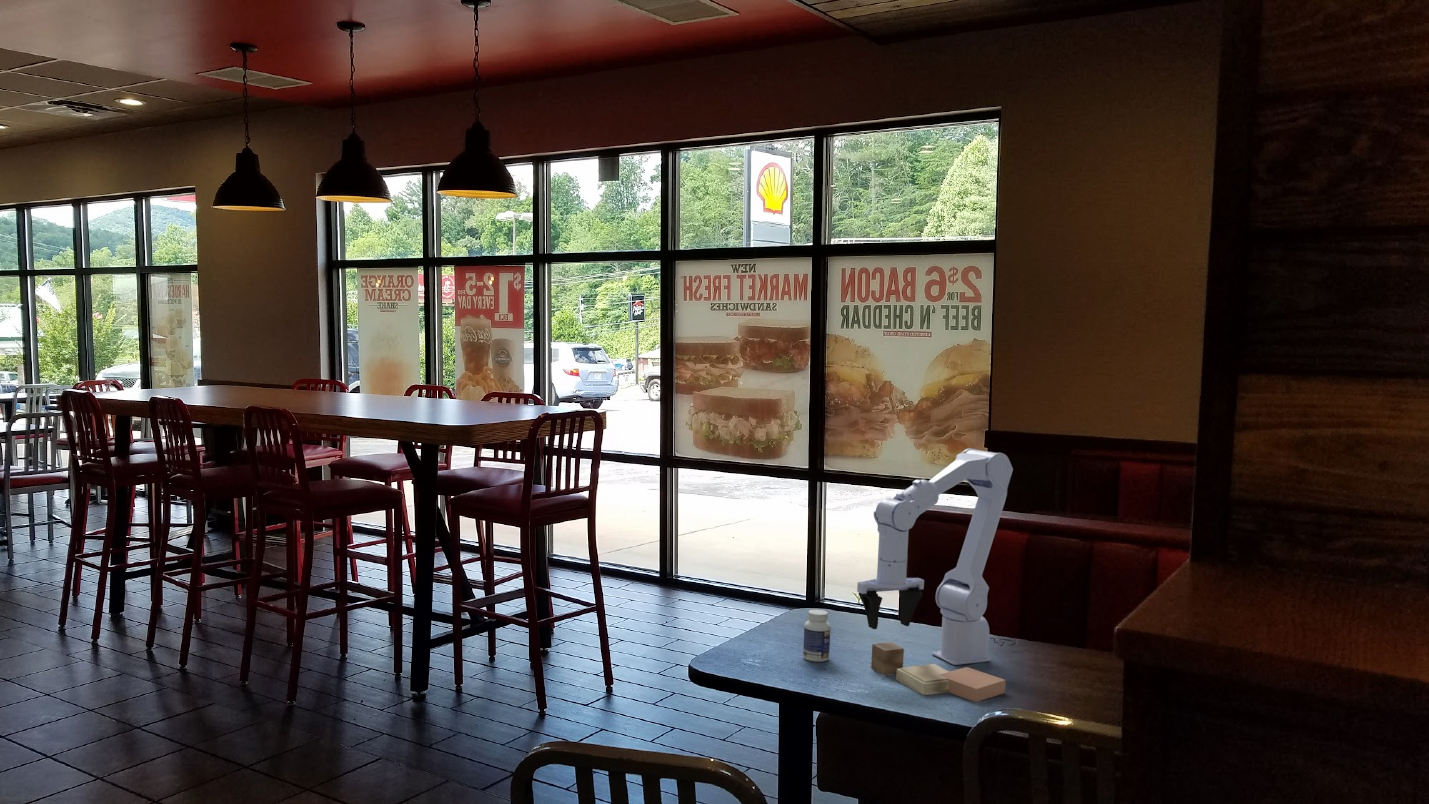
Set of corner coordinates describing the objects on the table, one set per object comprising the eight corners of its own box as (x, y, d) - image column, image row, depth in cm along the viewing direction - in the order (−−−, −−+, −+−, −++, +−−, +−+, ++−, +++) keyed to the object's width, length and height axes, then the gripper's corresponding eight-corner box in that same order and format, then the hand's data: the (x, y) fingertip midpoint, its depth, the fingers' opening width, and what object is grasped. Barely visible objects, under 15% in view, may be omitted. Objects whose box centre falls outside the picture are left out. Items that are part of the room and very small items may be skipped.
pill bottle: (827, 663, 205) (830, 616, 205) (801, 661, 206) (803, 614, 206) (830, 655, 211) (832, 609, 210) (804, 653, 212) (806, 607, 211)
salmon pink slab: (966, 679, 199) (966, 666, 199) (1004, 692, 192) (1005, 680, 192) (936, 687, 193) (937, 675, 193) (975, 702, 186) (976, 688, 186)
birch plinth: (934, 675, 201) (934, 663, 201) (962, 690, 192) (963, 677, 192) (896, 679, 197) (896, 667, 197) (923, 695, 189) (924, 682, 189)
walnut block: (889, 666, 206) (891, 642, 205) (902, 673, 202) (903, 648, 201) (871, 668, 204) (872, 644, 203) (883, 675, 200) (884, 650, 199)
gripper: (911, 553, 208) (907, 618, 209) (850, 556, 202) (847, 623, 203) (931, 560, 201) (927, 627, 202) (869, 564, 196) (866, 633, 196)
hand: (888, 626), depth 202 cm, fingers open, 7 cm apart
